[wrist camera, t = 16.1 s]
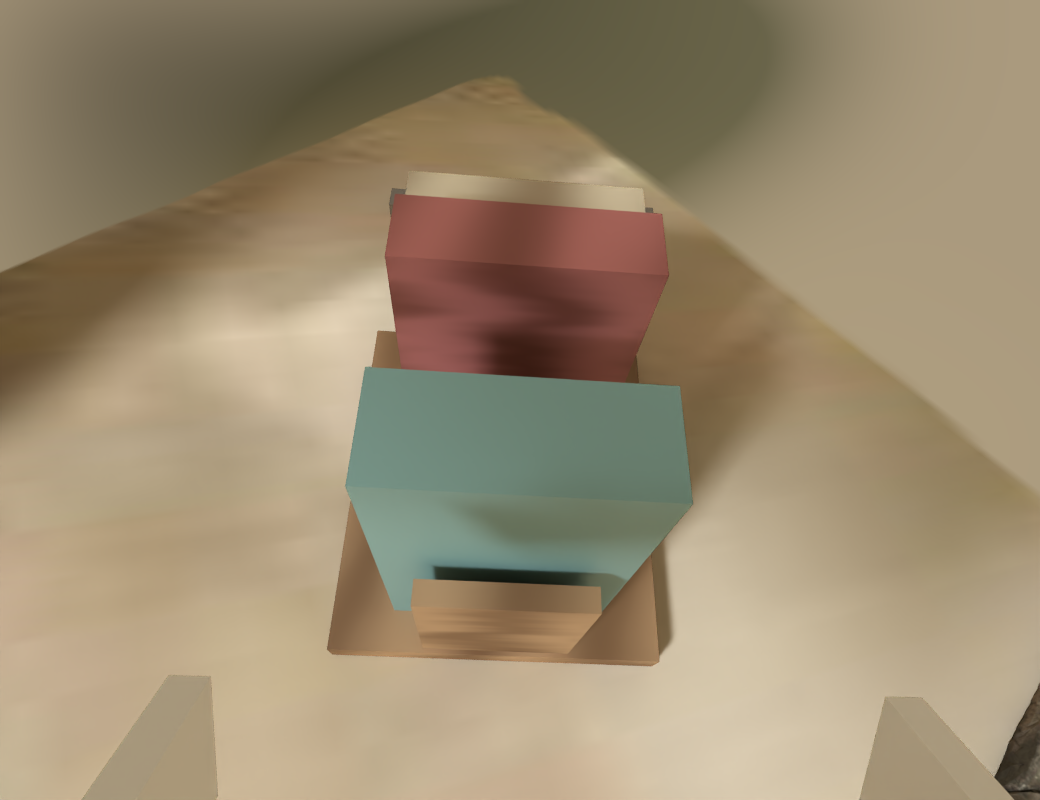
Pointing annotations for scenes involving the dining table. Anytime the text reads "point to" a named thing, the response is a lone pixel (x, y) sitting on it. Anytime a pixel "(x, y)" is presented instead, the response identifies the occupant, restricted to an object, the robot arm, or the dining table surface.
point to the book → (515, 478)
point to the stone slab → (1023, 756)
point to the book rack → (511, 352)
